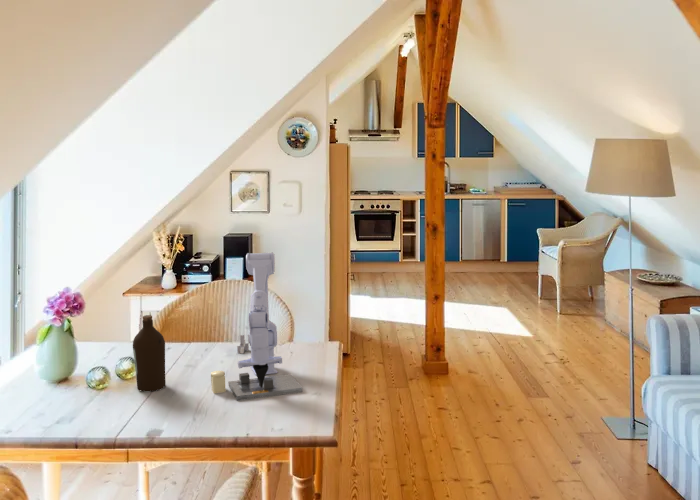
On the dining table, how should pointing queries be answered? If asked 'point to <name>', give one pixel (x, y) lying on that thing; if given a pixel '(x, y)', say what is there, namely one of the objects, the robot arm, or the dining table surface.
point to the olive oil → (149, 357)
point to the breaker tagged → (268, 383)
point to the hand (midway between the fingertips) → (261, 386)
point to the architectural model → (243, 345)
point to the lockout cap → (218, 381)
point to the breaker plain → (244, 378)
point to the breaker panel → (253, 390)
